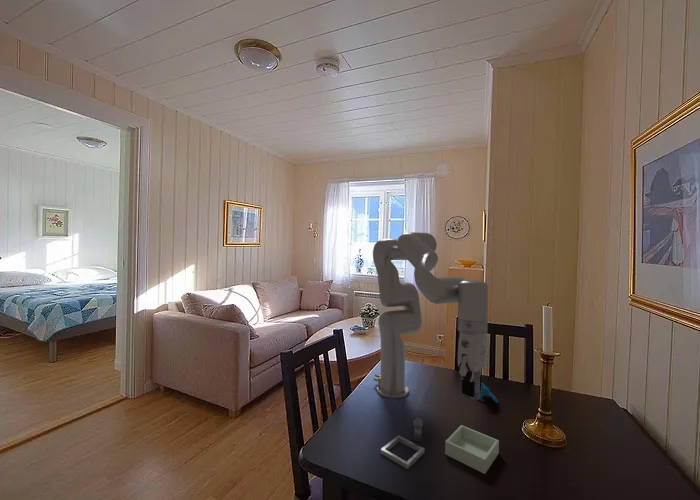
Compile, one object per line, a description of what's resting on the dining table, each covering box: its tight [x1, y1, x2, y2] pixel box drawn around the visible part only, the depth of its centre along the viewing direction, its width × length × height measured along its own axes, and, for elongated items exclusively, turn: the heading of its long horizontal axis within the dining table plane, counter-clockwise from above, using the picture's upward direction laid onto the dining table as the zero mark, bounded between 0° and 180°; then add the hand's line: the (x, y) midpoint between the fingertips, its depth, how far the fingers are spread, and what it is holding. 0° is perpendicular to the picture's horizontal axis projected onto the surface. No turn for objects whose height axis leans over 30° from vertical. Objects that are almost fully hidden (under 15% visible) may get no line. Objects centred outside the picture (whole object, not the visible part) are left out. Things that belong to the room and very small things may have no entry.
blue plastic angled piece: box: [477, 381, 500, 404], centre depth 114 cm, size 11×6×10 cm
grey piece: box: [380, 417, 425, 470], centre depth 86 cm, size 9×14×6 cm, turn 137°
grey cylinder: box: [463, 366, 481, 401], centre depth 84 cm, size 4×4×9 cm
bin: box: [444, 424, 500, 475], centre depth 84 cm, size 11×11×4 cm
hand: (471, 391), depth 84 cm, fingers closed on grey cylinder, 4 cm apart
